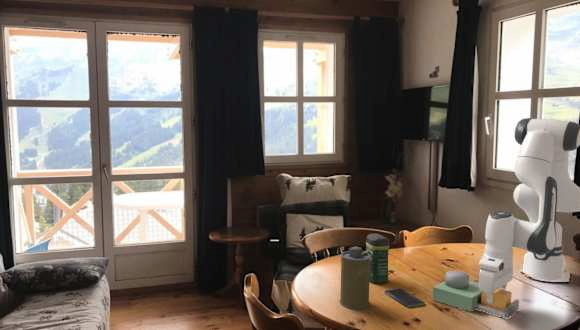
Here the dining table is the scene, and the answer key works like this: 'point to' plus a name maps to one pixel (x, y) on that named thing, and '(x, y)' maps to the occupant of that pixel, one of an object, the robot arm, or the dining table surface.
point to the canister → (355, 278)
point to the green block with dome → (458, 291)
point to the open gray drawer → (506, 314)
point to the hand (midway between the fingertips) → (495, 298)
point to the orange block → (498, 299)
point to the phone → (404, 298)
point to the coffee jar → (378, 257)
